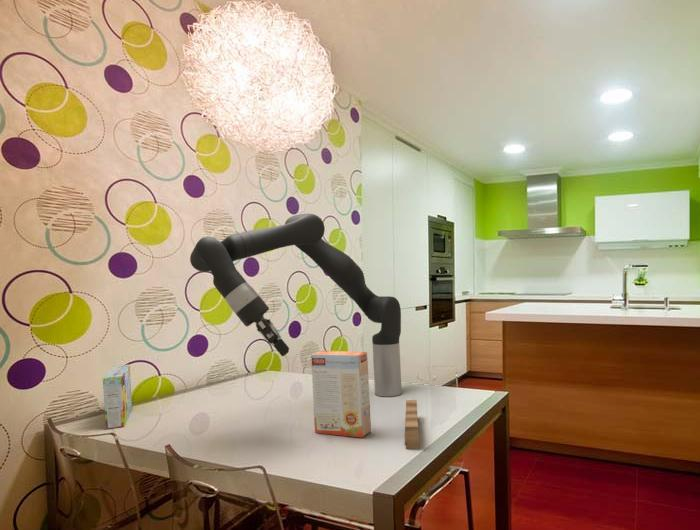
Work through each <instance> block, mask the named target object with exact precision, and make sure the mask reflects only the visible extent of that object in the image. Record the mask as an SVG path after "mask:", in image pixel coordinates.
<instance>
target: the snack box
mask: <svg viewBox="0 0 700 530" xmlns="http://www.w3.org/2000/svg"><path fill="white" fill-rule="evenodd" d="M131 383H132V382H131V364H119V365H114V366H112V368H110V370H108V372H107V373H106V375H104V376H103V378H102V385H103V387H102V388H103V401H104V402H103V405H104V422H105V424H104V425H105V427H104V428H105V430H110V429H118V428H124V427H125V426H126V423H127V421H128V418H129V416H130V414H131V412H132V410H133V402H132V399H133V397H132V386H131Z"/></svg>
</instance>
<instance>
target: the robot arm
mask: <svg viewBox="0 0 700 530" xmlns="http://www.w3.org/2000/svg"><path fill="white" fill-rule="evenodd" d="M324 235H325V223H324V222H323V219H322V218H321V217H320V216H318V215H317V214H314V213H300V214H295V215H291V216H290V217H288V218H287V219H286V220H285V222H284V224H281V225H275V226H271V227H270V226H269V227H263V228H257V229H250V230H247V231H242V232H238V233H237V232H236V233H233V234H231V235H228V236H226V237H225V238H224V239H223V240H221V241H220V240H218V239H217V238H215V237H214V236H213V237H212V236H204V237H201V238H200V239H198V241H197V242H196V244H195V246H194V248H193V249H192V251H191V253H190V258H189V261H190V265H191V266H192V267H193V268H194V269H195V270H197V271H199V272H205V273H206V272H210V273H211V274H212V276H213V277H212V278H213V280H212V282H213V285H214V287H215V288H216V290H217V291H218V292H219V294H220V295H221V296H222V298H223V299H224V300H225V301H226V303H227V305H228V306H229V308H230V310H232V312H234V313H235V315H236V317H238V319H239V320H240V322H241V323H242V324H243V325H244V326H245V327H247V328H248V327H249V326H251V325H252V324H254V323H255V327H256V330H257V332H258V333H259V334H260V335H261V336H262V337H263V338H264V339H265V341H267V342H268V344H270V345H271V346H273V347H274V349H275V350H276V351H277V352H278V353H279V354H280V356H282V357H285V356H286V355H287V354H288V353H289V351H290V347H289V346H288V344H287V343H286V342H285V341H284V340H283V339H282V337H281V335H280V333H279V331H278V329H277V328H276V327H275V326H274V323H273V322H272V321H271V319H270V318H268V319H267V318H265V316H264V315H265V314H266V313H268V311H269V310H270V307H269V306H268V305H267V304H266V302H265V301H264V300H263V298H262V297H261V296H260V295H259V294H258V292H257V291H256V290H255V289H254V287H252V286H251V285H250V283H248V282H247V279H245V278H244V277H243V275H242V274H241V273H240V272H239V271H238V270H237V267H236V266H235V263H234V262H236V261H239V260H243V259H246V258H250V257H254V256H257V255H262V254H264V253H268V252H270V251H274V250H277V249H280V248H285V247H290V246H291V247H292V246H295V247H296V248H298V250H299V251H301V252H302V253H304V254H305V255H307V256H308V257H309V259H311V260H312V261H313V262H314V263H315V264H316V265H317V266H318V267H319V268H320V269H321V270H322V271H323V272H324V273H325V274H326V275H327V276H328V277H329V278H330V279H331V280H332V281H333V282H334V283H335V284H336V285H337V286H338V287H339V288H340V289H341V290H342V291H344V293H345V294H346V295H348V297H349V298H350V299H352V301H354V303H355V304H356V305H357V306H358V308H359V309H360V310H361V311H362V313H363V314H364V315H365V316H366V317H367V318H368V320H370V321H371V322H372V323H376V324H380V325H381V326H380V331H378V333H375V334H373V336H372V337H371V340H372V341H371V342H372V356H373V357H372V360H373V379H374V382H373V383H374V386H373V387H374V395H376V396H379V397H396V396H400V395H402V394H403V392H402V391H403V389H402V372H401V371H402V370H401V368H402V367H401V350H400V349H401V348H400V337H401V334H402V333H401V332H402V310H401V304H400V301H399V300H398V299H397V298H396V297H394V296H389V295H388V296H386V295H385V296H383V295H381V296H379V295H377V294H375V293H374V292H373V291H372V290H371V289H370V288H369V287H368V286H367V283H366V279H365V275H364V274H365V273H364V271H363V269H362V268H361V267H360V266H359V265H358V264H357V263H356V262H355V261H354V260H353V259H352V257H350V256H349V255H348V254H346V253H345V252H343V251H342V250H341V249H338V248H336V247H335V246H333V245H331V244H329V243H328V242H326V241H325V240H324V239H323V236H324Z"/></svg>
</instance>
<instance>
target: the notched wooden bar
mask: <svg viewBox="0 0 700 530" xmlns="http://www.w3.org/2000/svg"><path fill="white" fill-rule="evenodd" d="M419 437H420V436H419V417H418V400H417V399H406V401H405V417H404V446H405V450H420V439H419Z"/></svg>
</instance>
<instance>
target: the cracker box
mask: <svg viewBox="0 0 700 530" xmlns="http://www.w3.org/2000/svg"><path fill="white" fill-rule="evenodd" d="M368 361H369V360H368V352H367V351H347V350H346V351H345V350H342V351H341V350H320V351H317V352H313V353H312V354H311V376H312V395H313V396H312V397H313V398H312V399H313V401H312V403H313V420H314V423H313V424H314V433H315V434H324V435H334V436H343V437H354V438H364V437H365V436H367V435H368V434H369V433H371V432H372V422H371V421H372V419H371V401H370V383H369V366H368V365H369V362H368Z"/></svg>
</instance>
